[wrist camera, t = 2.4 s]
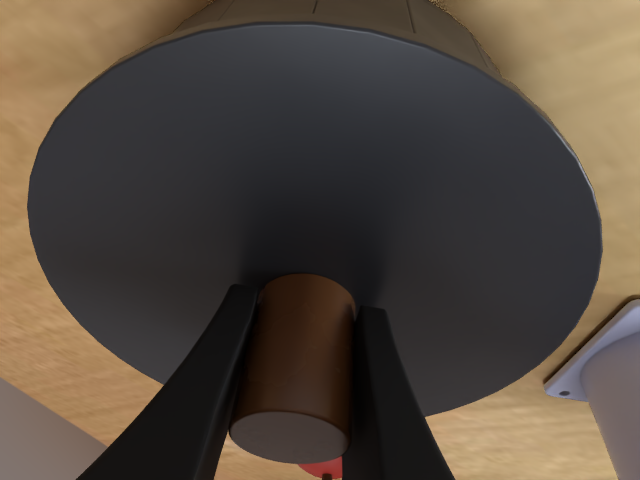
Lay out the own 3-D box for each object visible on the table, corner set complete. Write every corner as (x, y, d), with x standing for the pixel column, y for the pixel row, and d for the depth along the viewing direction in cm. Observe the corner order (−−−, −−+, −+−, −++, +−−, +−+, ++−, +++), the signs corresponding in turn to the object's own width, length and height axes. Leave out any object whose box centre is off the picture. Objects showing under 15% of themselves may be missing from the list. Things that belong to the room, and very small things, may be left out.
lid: (742, 86, 8) (1013, 268, 5) (457, 421, 18) (479, 562, 14) (-41, -76, 7) (-391, 3, 4) (101, 366, 17) (34, 501, 14)
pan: (600, 24, 12) (715, 121, 8) (436, 314, 21) (452, 429, 17) (114, -78, 11) (-23, -28, 7) (157, 267, 20) (106, 375, 16)
